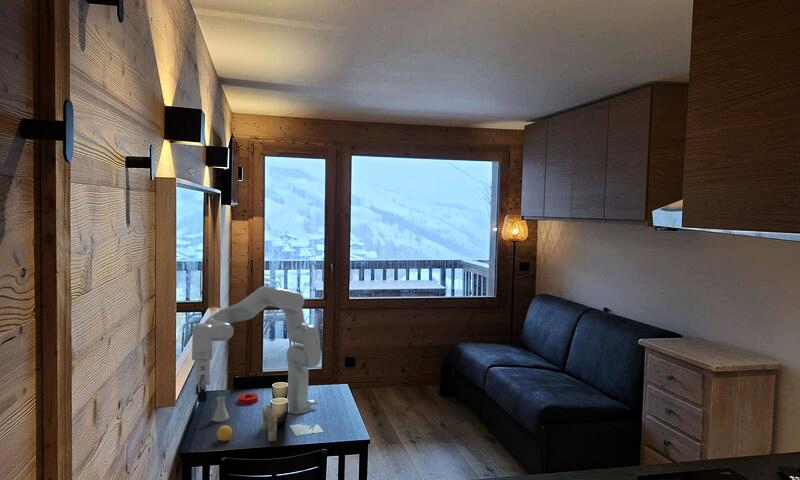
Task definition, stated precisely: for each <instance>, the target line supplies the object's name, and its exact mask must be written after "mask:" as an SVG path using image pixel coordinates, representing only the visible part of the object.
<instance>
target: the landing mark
mask: <svg viewBox="0 0 800 480" xmlns="http://www.w3.org/2000/svg"><path fill="white" fill-rule="evenodd" d="M300 424H301V425H300ZM302 424H303V423H297V424H290V425H288V426H289V428H290V429H291V430H292V432H293V433H294V435H295V436H296V437H299V436H306V435H312V433H314V434H319V433H320V434H321V433H324V430H323V428H321V426H320V425H319V424H318V423H317V424H318V425H317V424H316V425H315V426H314V428H311V429H309V427H311V426H307V425H302ZM305 426H306V427H305ZM312 429H314V430H312Z"/></svg>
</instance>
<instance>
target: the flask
mask: <svg viewBox="0 0 800 480" xmlns="http://www.w3.org/2000/svg"><path fill="white" fill-rule="evenodd" d="M216 399H217V405H216V408H215V411H214V414H213V417H212V419H211V421H212V422H215V423H225V422H226V421H228V420H230V416H229V413H228V410H227V408H226V403H225V399H226V397H225V396H218V397H217V398H216Z"/></svg>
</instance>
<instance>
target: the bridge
mask: <svg viewBox="0 0 800 480" xmlns="http://www.w3.org/2000/svg"><path fill="white" fill-rule="evenodd" d="M261 426H262V430H264V431H266V430H267V434H268V436H267V440H268V442H275V441H277V437H278V436H277V432H278V429H277V427H278V416H277V415H276V413H275V412H274V410H273V408H272V406H271V405H270V404H269V405H262V425H261Z"/></svg>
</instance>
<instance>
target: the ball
mask: <svg viewBox="0 0 800 480" xmlns="http://www.w3.org/2000/svg"><path fill="white" fill-rule="evenodd" d="M232 436H233V429H232V427H231V426H230V425H226V424H225V425H224V424H223V425H221V426H220V427H219V428H218V429H217V431H216V437H217V438H218V440H219V441H220V442H221V441H222V442H226V441H229V440H230V439H231V438H232Z"/></svg>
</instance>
